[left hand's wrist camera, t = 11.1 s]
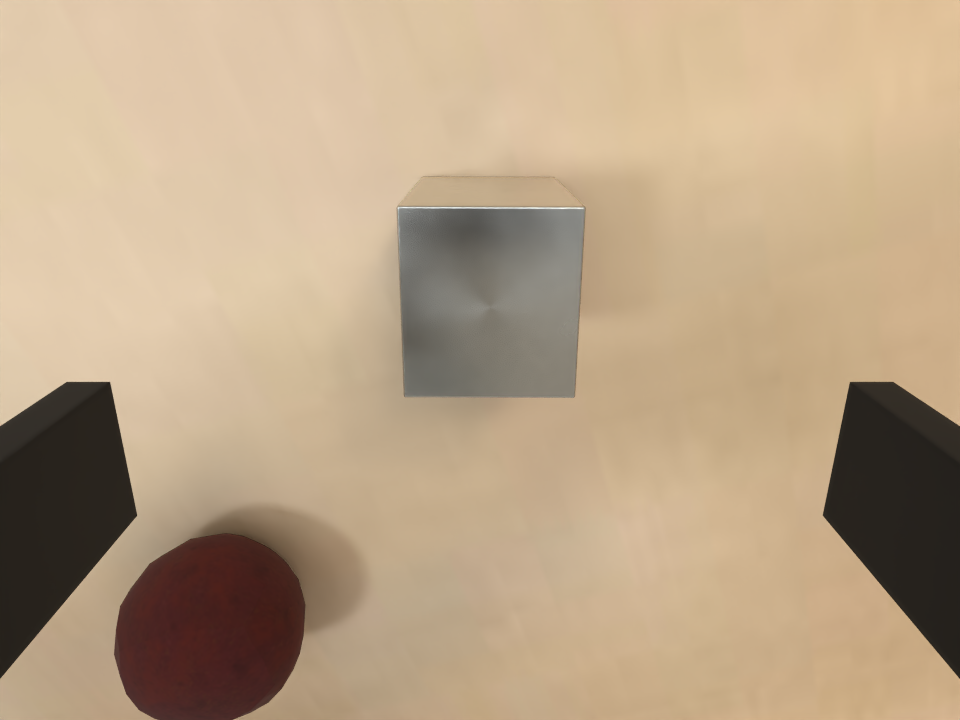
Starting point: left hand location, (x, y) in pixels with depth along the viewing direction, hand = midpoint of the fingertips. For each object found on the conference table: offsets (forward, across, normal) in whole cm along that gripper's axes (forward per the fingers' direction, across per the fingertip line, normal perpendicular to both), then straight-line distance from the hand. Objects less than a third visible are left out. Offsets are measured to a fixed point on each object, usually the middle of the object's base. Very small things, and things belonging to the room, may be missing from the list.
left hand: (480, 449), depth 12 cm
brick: (+16, 0, +1) cm, 16 cm away
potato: (+16, -11, -15) cm, 24 cm away
